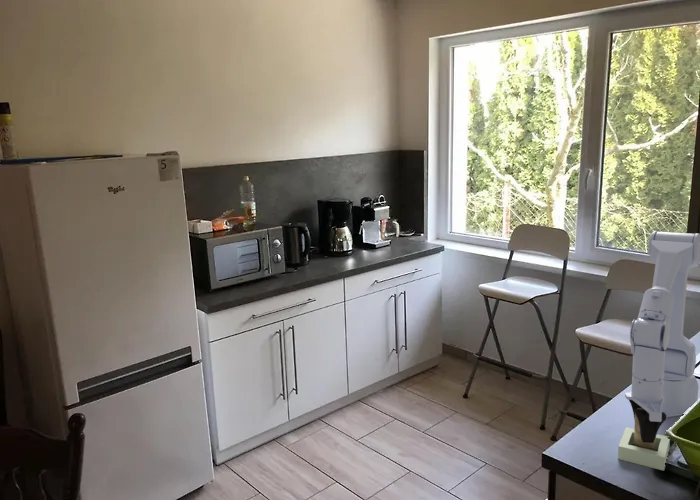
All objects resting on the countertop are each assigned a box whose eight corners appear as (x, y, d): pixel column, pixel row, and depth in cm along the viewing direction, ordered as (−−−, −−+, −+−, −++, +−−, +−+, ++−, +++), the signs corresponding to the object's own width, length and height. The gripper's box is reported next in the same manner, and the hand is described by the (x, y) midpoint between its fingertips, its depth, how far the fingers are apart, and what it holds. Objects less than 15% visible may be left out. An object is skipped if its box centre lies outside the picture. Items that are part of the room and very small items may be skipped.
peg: (660, 445, 118) (661, 415, 116) (643, 449, 117) (644, 418, 115) (646, 436, 122) (647, 406, 120) (629, 439, 121) (630, 409, 119)
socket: (625, 439, 126) (626, 427, 125) (669, 449, 121) (670, 437, 120) (618, 458, 119) (618, 446, 118) (664, 470, 114) (664, 457, 113)
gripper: (619, 360, 124) (616, 417, 127) (634, 390, 110) (631, 453, 113) (654, 361, 122) (651, 419, 125) (675, 392, 108) (671, 456, 111)
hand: (644, 435), depth 119 cm, fingers closed on peg, 4 cm apart
